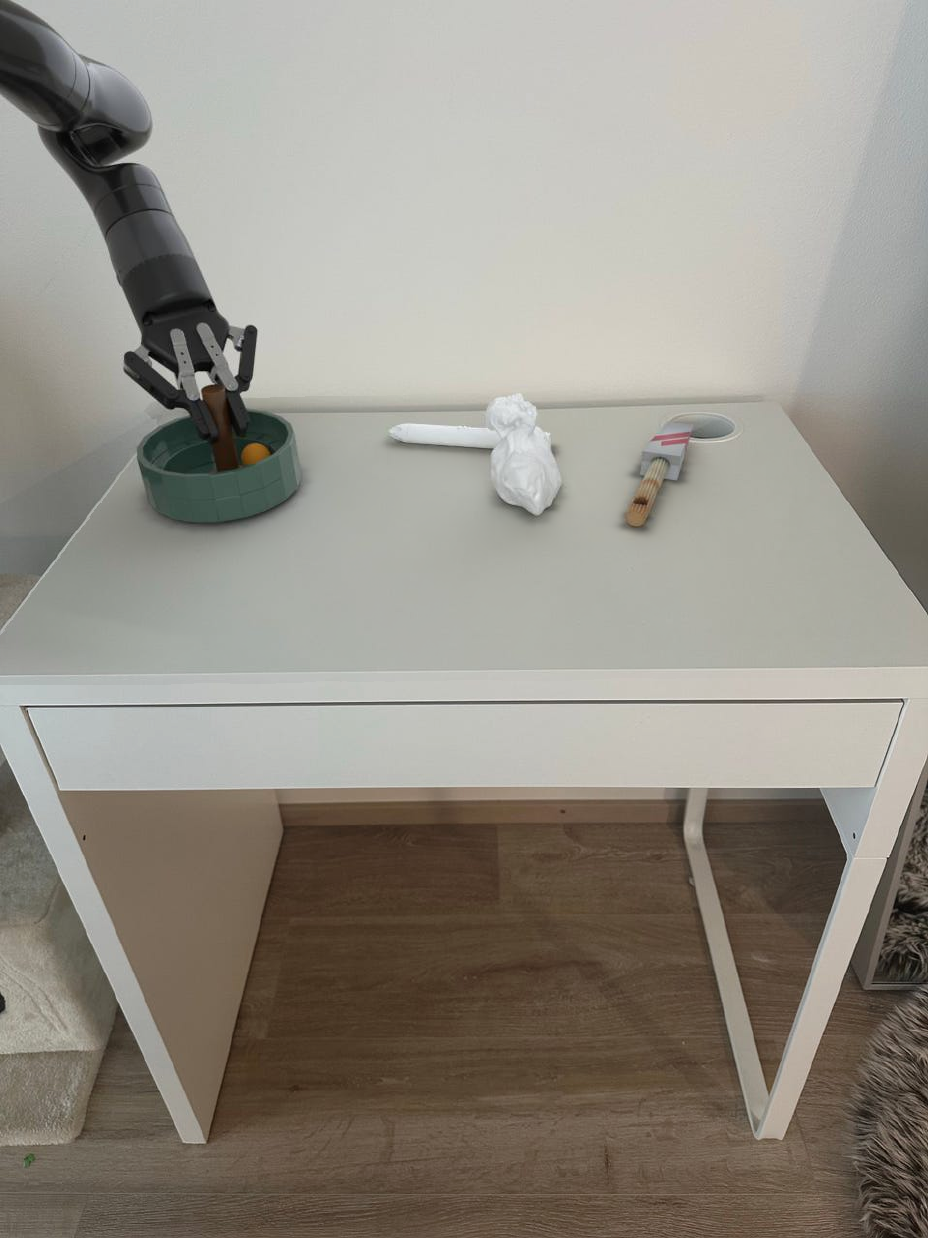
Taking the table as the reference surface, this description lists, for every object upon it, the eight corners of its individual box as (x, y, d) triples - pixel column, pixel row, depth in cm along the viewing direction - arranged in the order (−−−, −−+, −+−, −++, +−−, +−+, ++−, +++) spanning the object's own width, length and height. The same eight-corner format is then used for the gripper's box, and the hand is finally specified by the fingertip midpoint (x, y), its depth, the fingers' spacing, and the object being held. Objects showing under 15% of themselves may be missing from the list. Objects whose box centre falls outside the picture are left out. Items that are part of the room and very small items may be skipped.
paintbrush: (700, 412, 99) (655, 509, 85) (697, 436, 101) (653, 535, 86) (664, 407, 100) (613, 502, 86) (662, 431, 102) (612, 527, 88)
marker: (385, 444, 103) (383, 424, 101) (390, 436, 104) (389, 416, 103) (548, 455, 99) (548, 435, 98) (551, 447, 101) (551, 426, 99)
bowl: (254, 537, 88) (244, 485, 84) (118, 515, 92) (104, 464, 89) (326, 465, 99) (319, 417, 96) (202, 448, 103) (192, 401, 100)
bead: (273, 462, 95) (268, 436, 96) (243, 465, 94) (238, 439, 95) (272, 475, 98) (267, 449, 99) (243, 478, 97) (238, 452, 98)
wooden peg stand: (244, 501, 92) (226, 401, 85) (198, 496, 92) (177, 397, 86) (263, 477, 95) (247, 380, 89) (219, 473, 96) (200, 376, 90)
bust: (527, 486, 98) (459, 405, 94) (587, 447, 95) (518, 361, 90) (517, 546, 89) (440, 459, 84) (582, 506, 85) (506, 413, 81)
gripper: (85, 265, 83) (159, 439, 82) (233, 238, 89) (303, 401, 88) (86, 309, 90) (154, 471, 89) (223, 282, 96) (289, 434, 95)
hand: (228, 435), depth 88 cm, fingers closed on wooden peg stand
